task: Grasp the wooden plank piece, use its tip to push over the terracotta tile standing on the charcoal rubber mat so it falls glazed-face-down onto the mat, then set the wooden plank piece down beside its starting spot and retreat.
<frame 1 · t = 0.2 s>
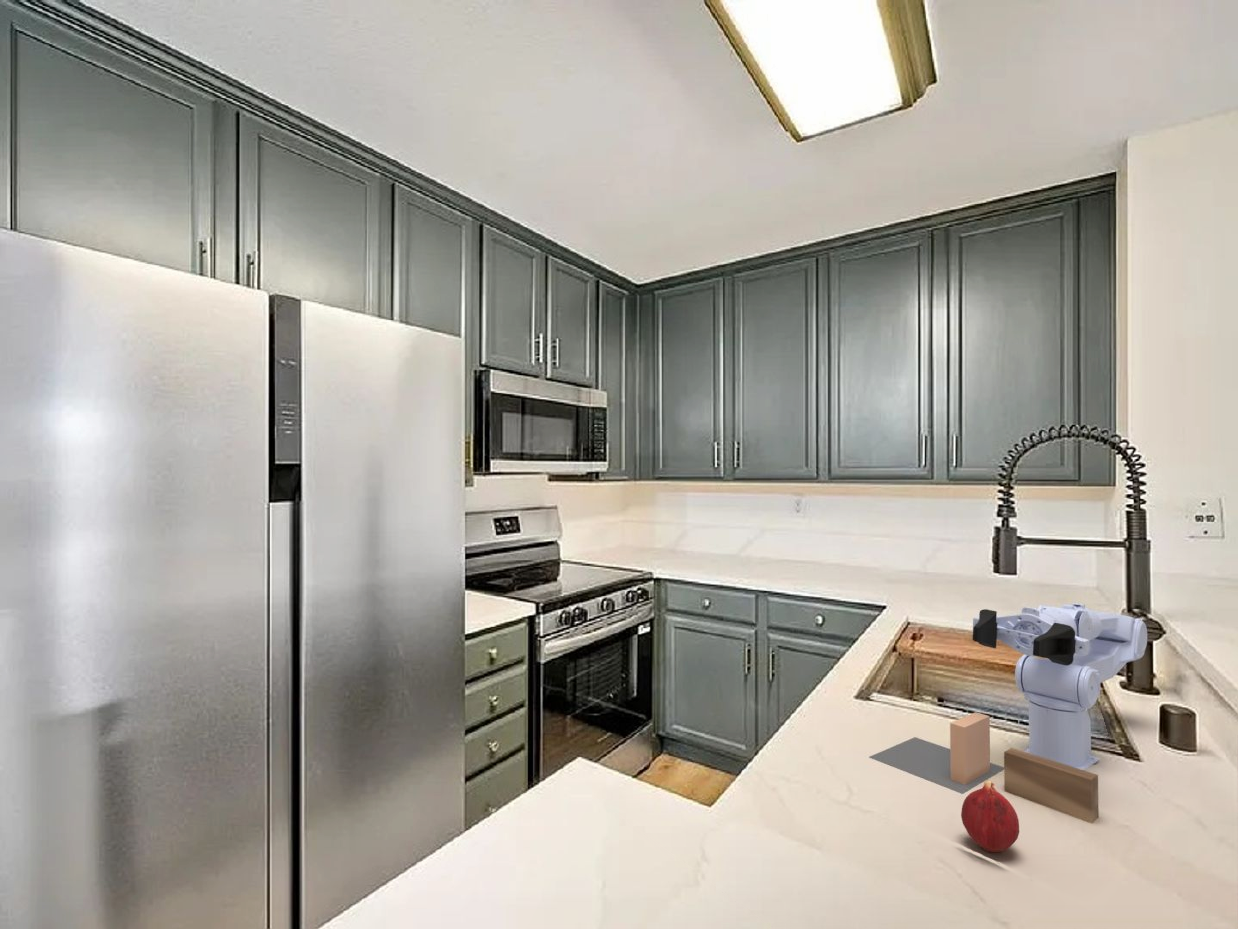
hand: (1004, 640, 86), 21 cm above the countertop, tool horizontal, fingers open, 7 cm apart
mat: (936, 765, 94), on the countertop
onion: (990, 854, 71), on the countertop
tile: (970, 775, 90), resting on mat
wooden plank piece: (1049, 808, 81), on the countertop
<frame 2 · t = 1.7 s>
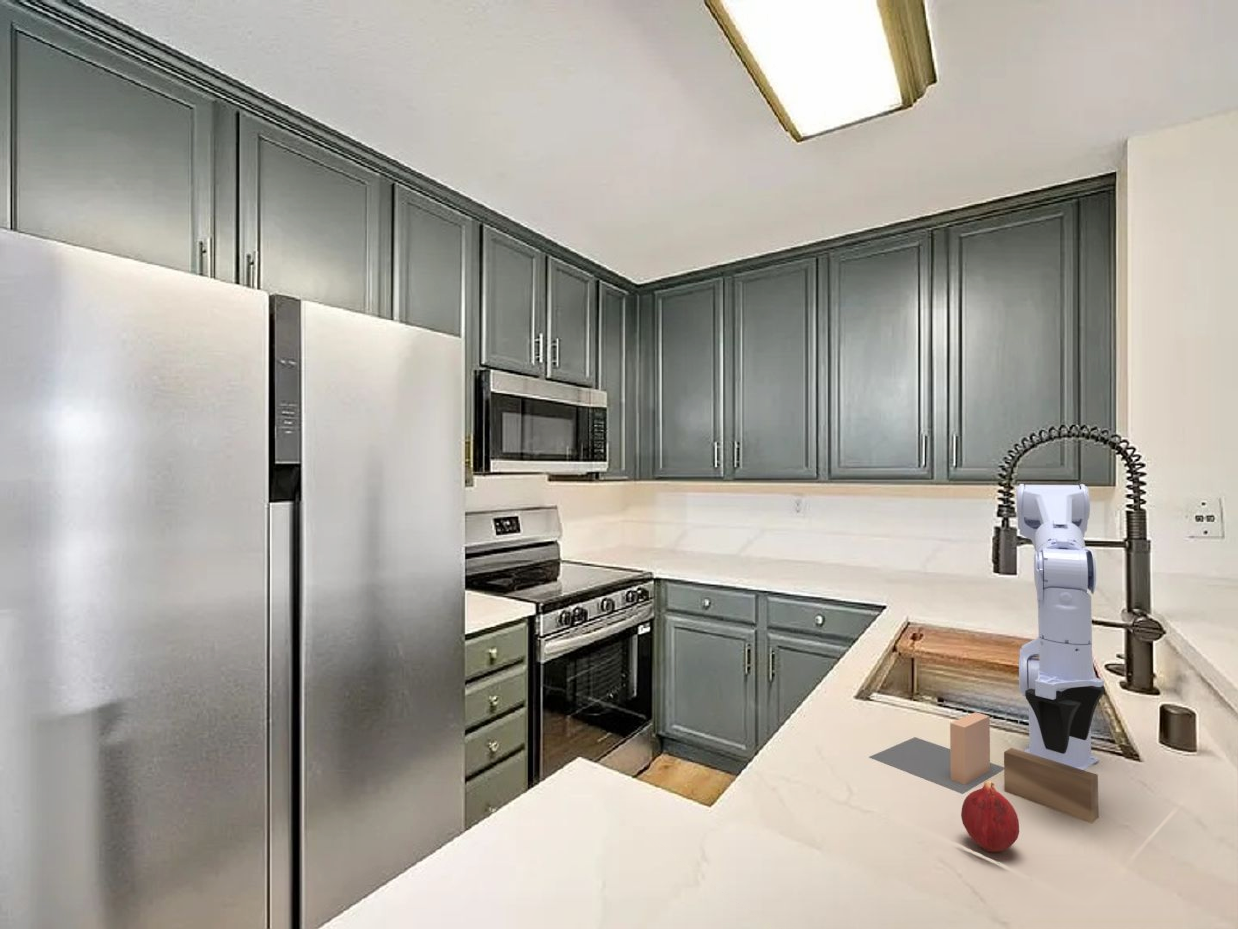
hand: (1066, 744, 80), 9 cm above the countertop, tool pointing down, fingers open, 7 cm apart
nothing on the countertop moved.
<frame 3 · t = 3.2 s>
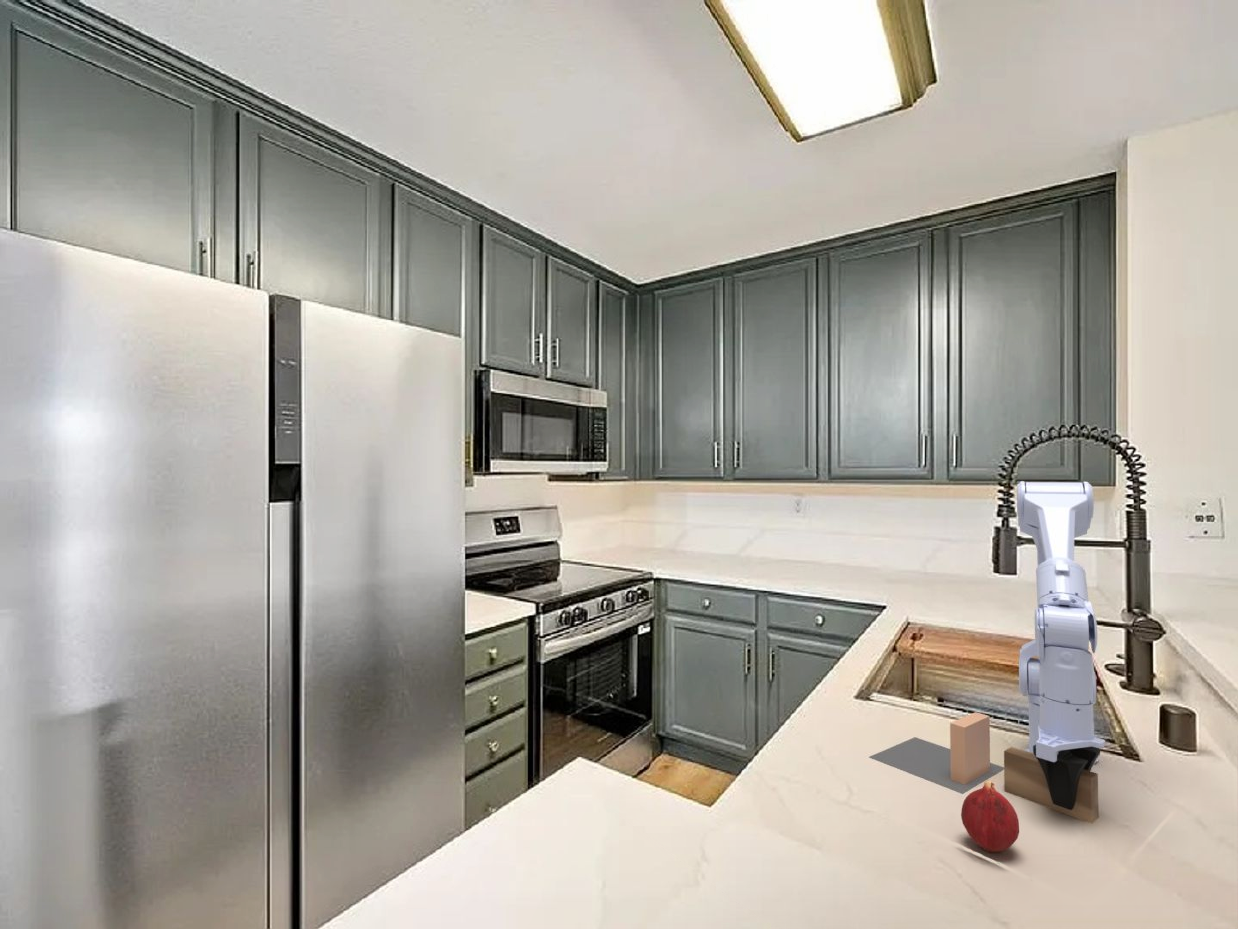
hand: (1067, 803, 80), 1 cm above the countertop, tool pointing down, fingers closed on wooden plank piece, 2 cm apart
wooden plank piece: (1049, 807, 82), on the countertop, touching gripper
everything else where it was.
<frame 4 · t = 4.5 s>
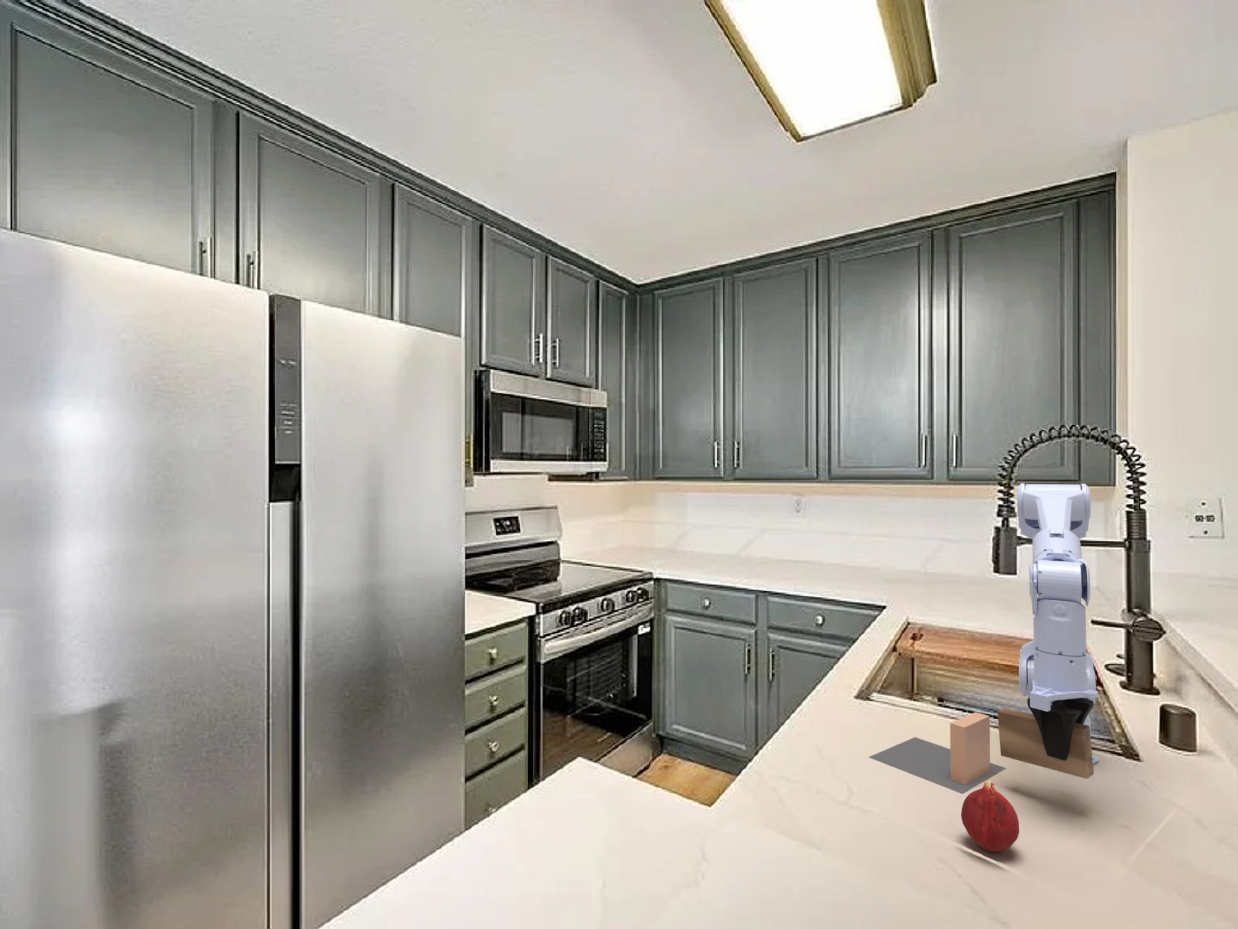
hand: (1061, 754, 81), 7 cm above the countertop, tool pointing down, fingers closed on wooden plank piece, 2 cm apart
wooden plank piece: (1045, 764, 82), point 5 cm above the countertop, touching gripper
everything else where it was.
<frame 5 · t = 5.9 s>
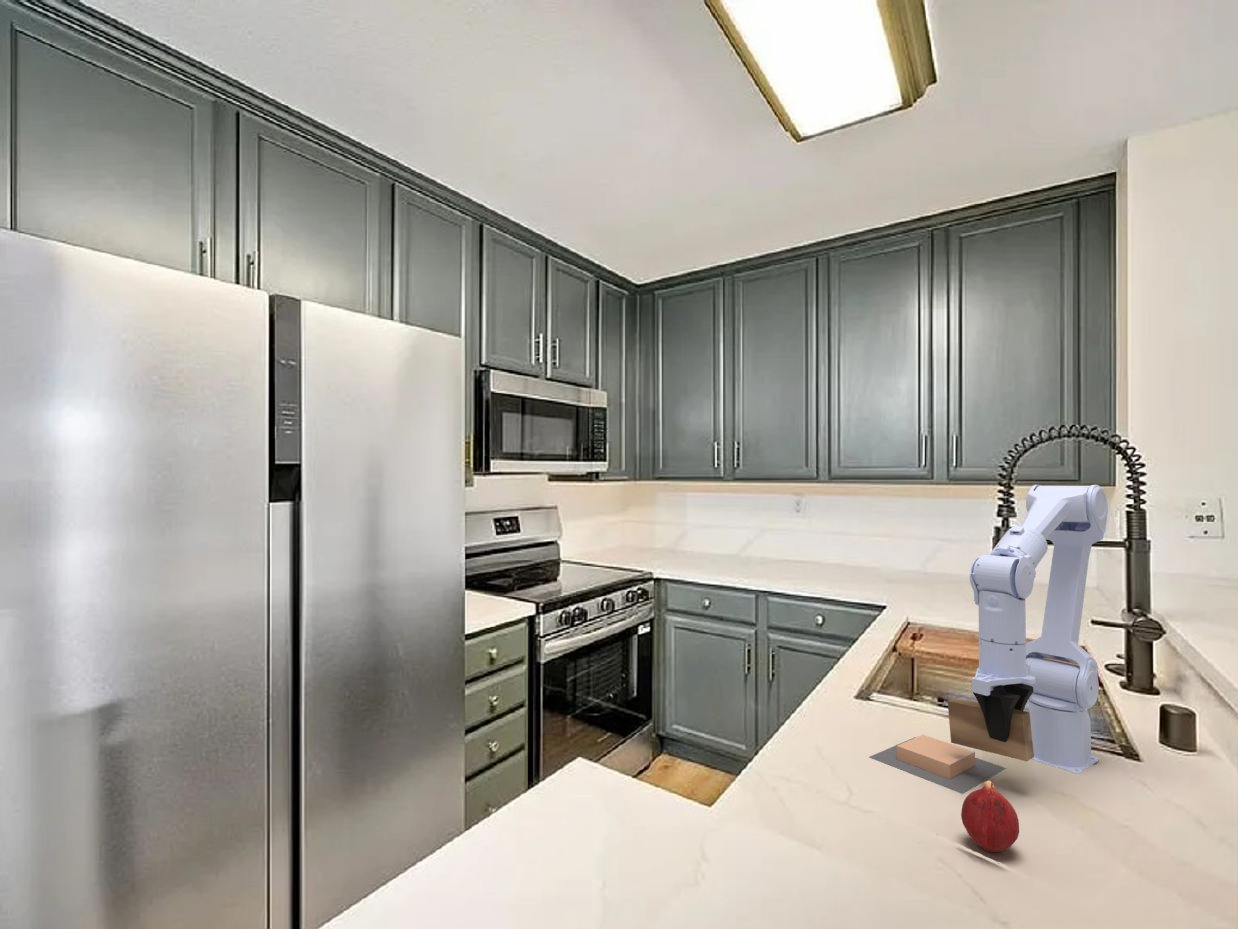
hand: (1002, 737, 86), 7 cm above the countertop, tool pointing down, fingers closed on wooden plank piece, 2 cm apart
tile: (962, 765, 91), point 2 cm above the countertop, tilted 90°, touching mat
wooden plank piece: (991, 749, 88), point 5 cm above the countertop, touching gripper
everything else where it was.
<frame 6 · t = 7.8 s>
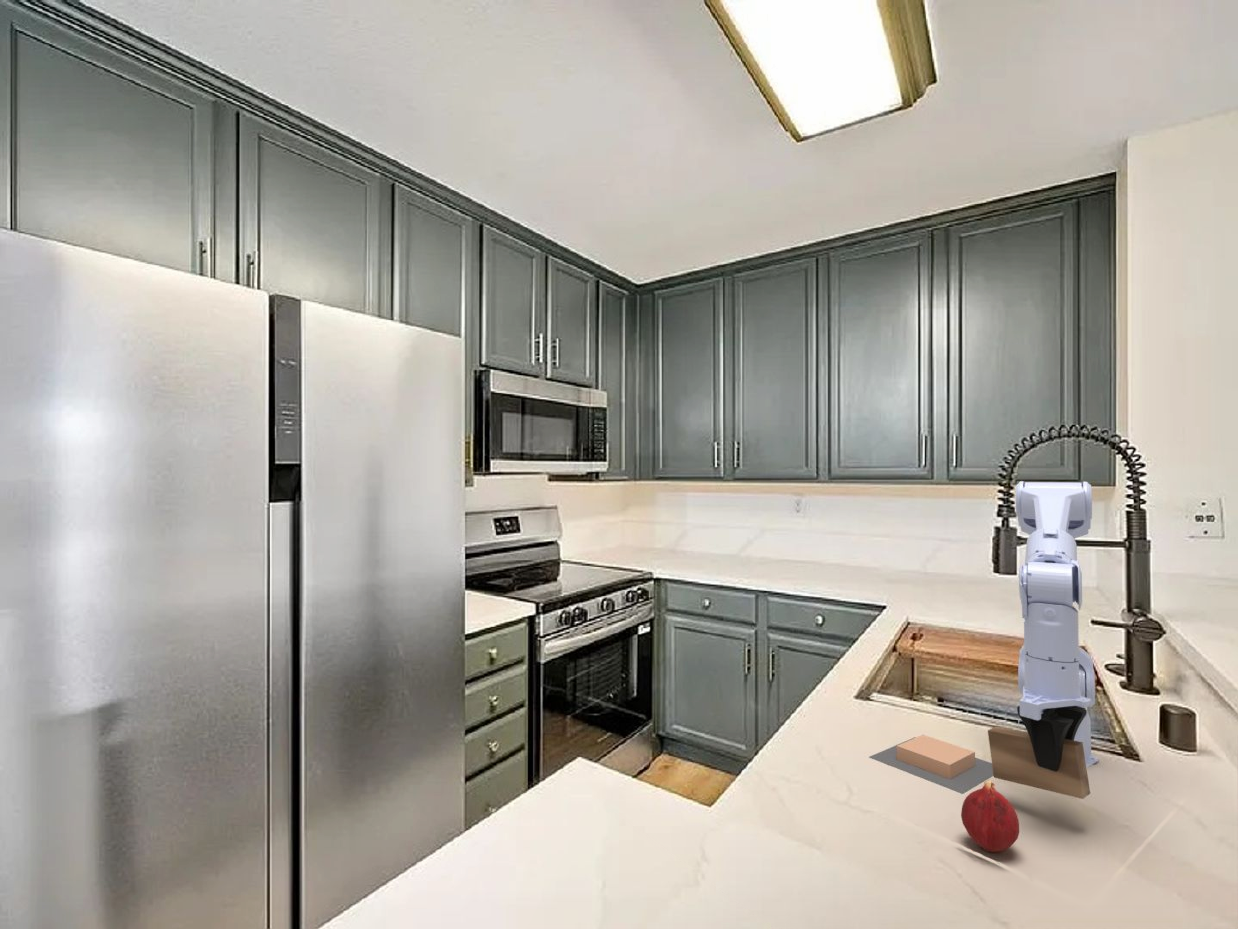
hand: (1052, 765, 77), 7 cm above the countertop, tool pointing down, fingers closed on wooden plank piece, 2 cm apart
wooden plank piece: (1040, 785, 78), point 4 cm above the countertop, tilted 7°, touching gripper
everything else where it was.
when the fingers open (2 cm above the countertop, at t = 9.0 s): wooden plank piece stays where it is, on the countertop.
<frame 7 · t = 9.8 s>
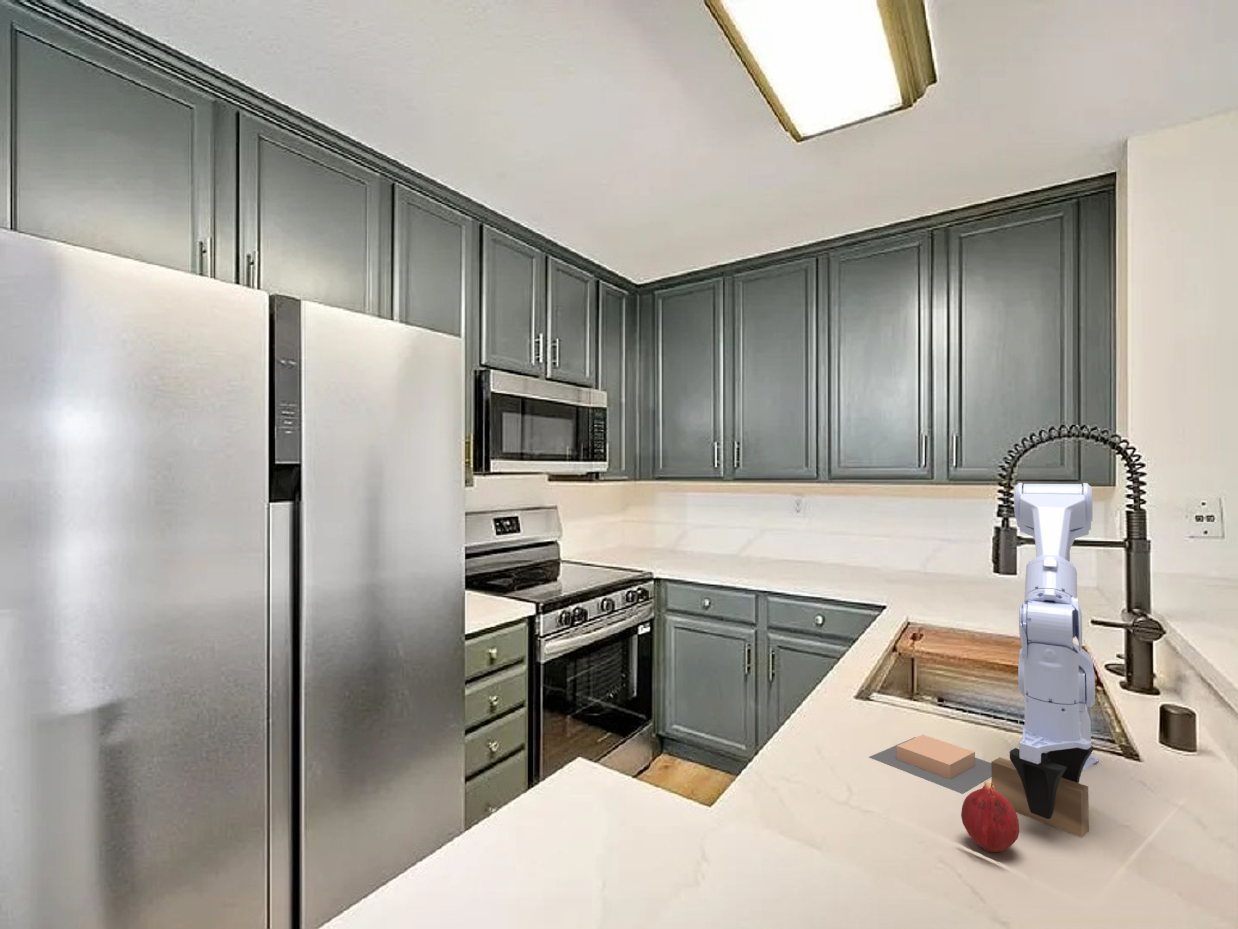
hand: (1052, 806, 77), 2 cm above the countertop, tool pointing down, fingers open, 7 cm apart
wooden plank piece: (1038, 821, 78), on the countertop
everything else where it was.
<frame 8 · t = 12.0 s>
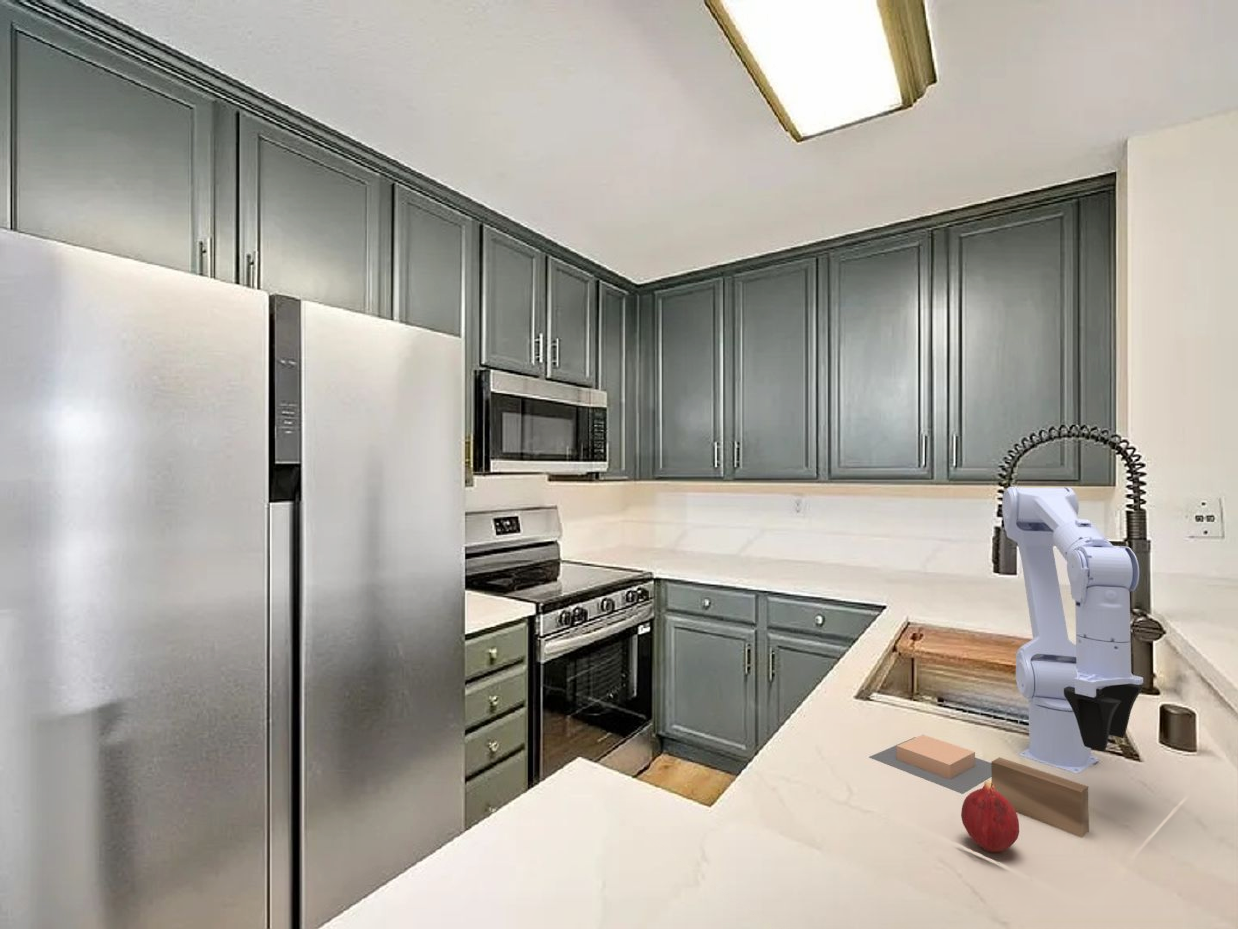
hand: (1104, 741, 80), 9 cm above the countertop, tool pointing down, fingers open, 7 cm apart
nothing on the countertop moved.
at the end: tile tilted 90°; tile inside the target area on the mat (3.9 cm from its centre), point 1.5 cm above the mat's base; wooden plank piece 0.5 cm from the target spot, on the countertop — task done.
